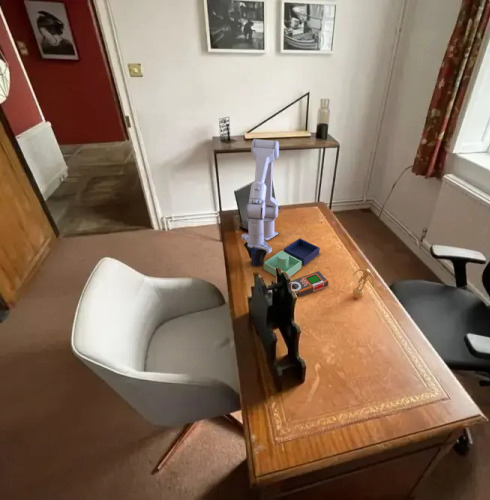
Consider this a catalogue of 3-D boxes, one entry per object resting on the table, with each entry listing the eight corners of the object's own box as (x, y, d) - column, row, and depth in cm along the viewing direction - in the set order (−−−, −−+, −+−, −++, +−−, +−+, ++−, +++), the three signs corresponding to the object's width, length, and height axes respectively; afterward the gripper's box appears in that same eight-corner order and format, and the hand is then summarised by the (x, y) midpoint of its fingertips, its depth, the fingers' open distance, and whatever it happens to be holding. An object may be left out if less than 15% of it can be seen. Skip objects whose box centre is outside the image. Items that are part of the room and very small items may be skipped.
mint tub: (263, 269, 126) (263, 262, 124) (281, 257, 133) (281, 250, 131) (284, 281, 120) (284, 274, 118) (301, 268, 127) (301, 261, 125)
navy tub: (283, 255, 134) (284, 248, 132) (299, 244, 140) (299, 238, 138) (303, 266, 128) (304, 259, 126) (319, 254, 135) (319, 247, 133)
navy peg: (249, 263, 129) (248, 251, 125) (256, 258, 131) (256, 246, 128) (256, 267, 126) (256, 256, 123) (264, 262, 129) (264, 251, 125)
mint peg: (274, 268, 126) (275, 256, 122) (282, 263, 129) (282, 251, 125) (283, 272, 124) (283, 260, 120) (290, 267, 126) (291, 255, 123)
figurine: (344, 293, 116) (349, 268, 109) (353, 286, 119) (359, 261, 112) (364, 305, 111) (370, 280, 104) (373, 297, 115) (380, 272, 108)
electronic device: (285, 282, 116) (319, 269, 122) (285, 288, 118) (319, 275, 123) (293, 294, 112) (329, 280, 117) (293, 299, 113) (328, 286, 119)
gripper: (235, 228, 121) (237, 256, 129) (262, 243, 114) (263, 272, 122) (248, 221, 125) (249, 249, 133) (275, 235, 118) (275, 263, 126)
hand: (256, 259), depth 128 cm, fingers closed on navy peg, 4 cm apart
